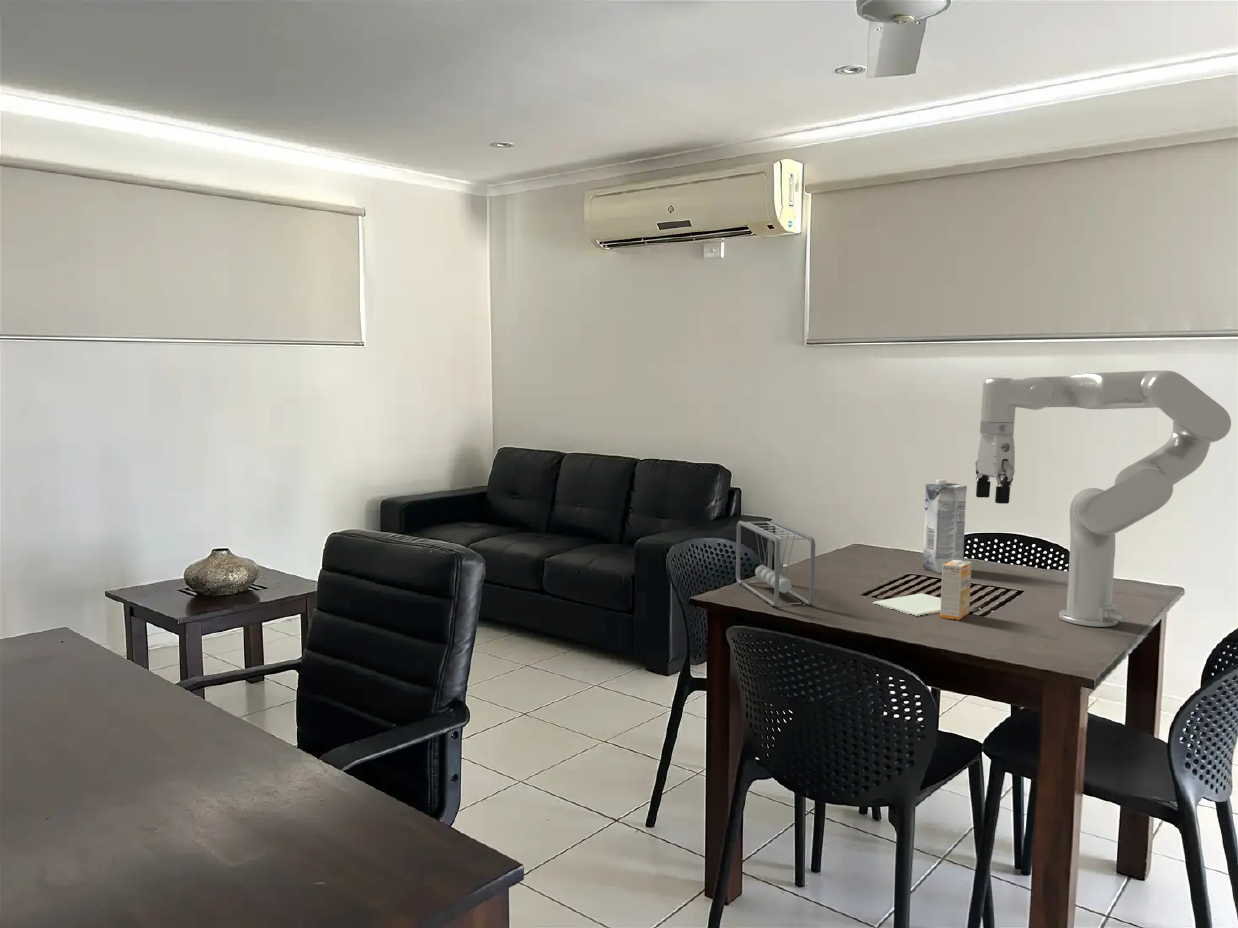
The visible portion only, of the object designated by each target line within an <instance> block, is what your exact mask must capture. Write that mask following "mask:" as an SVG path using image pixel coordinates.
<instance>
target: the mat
mask: <svg viewBox="0 0 1238 928" xmlns="http://www.w3.org/2000/svg"><path fill="white" fill-rule="evenodd" d="M872 604H873V605H874V604H878V605H880V606H879V607H881V606H883V607H882V608H885V607H886V608H885V609H888V608H889V609H888V610H891V609H895V610H897V611H896V612H898V611H900V612H899V613H902V612H903V613H902V614H905V613H906V615H909V614H912V615H915V616H918V617H921V616H920V615H923V616H925V615H924V614H928V615H933V614H937V613H940V609H941V597H937V596H933V595H931V594H926V593H922V592H920V593H916V594H909V595H904V596H898V597H893V598H885V599H880V600H875V601H872ZM878 605H877V606H878ZM895 610H894V611H895ZM912 615H911V616H912ZM915 616H914V617H915Z"/></svg>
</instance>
